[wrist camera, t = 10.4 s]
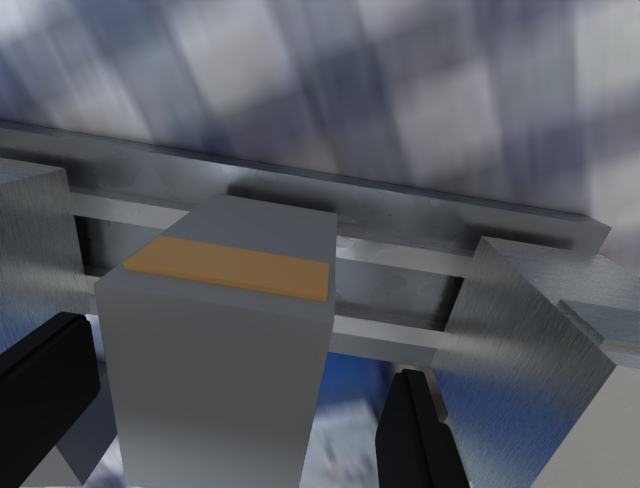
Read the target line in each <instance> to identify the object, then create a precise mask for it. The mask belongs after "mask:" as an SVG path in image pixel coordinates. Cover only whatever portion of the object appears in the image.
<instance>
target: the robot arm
mask: <svg viewBox="0 0 640 488" xmlns="http://www.w3.org/2000/svg"><path fill="white" fill-rule="evenodd" d="M100 387H101V384H100V378H99V372H98V366H97V360H96V354H95V348H94V342H93V336H92V329H91V324H90V322H89V321H87V319H86V317H85V316H84V315H82V314H76V313H70V312H64V311H63V312H59V313H57V314H56V315H54V316H53V317H52V318H50V319H49V320H47V321H46V322H45V323H43V324H42V325H40V326H39V327H38V328H36V329H35V330H33V331H32V332H31V333H29V334H28V335H27V336H25V337H24V338H22V339H21V340H20V341H18V342H17V343H15V344H14V345H13V346H11V347H10V348H8V349H7V350H6V351H4V352H3V353H1V354H0V488H19V487H20V486H21V485H22V484H23V482H24V481H25V480H26V479H27V478H28V477H29V475H30V474H31V473H32V472H33V471H34V470H35V468H36V467H37V466H38V465H39V464H40V463H41V461H42V460H43V459H44V458H45V457H46V455H47V454H48V453H49V452H50V451H51V450H52V448H53V447H54V446H55V445H56V444H57V443H58V441H59V440H60V439H61V438H62V437H63V436H64V434H65V433H66V432H67V431H68V430H69V429H70V427H71V426H72V425H73V424H74V423H75V422H76V420H77V419H78V418H79V417H80V416H81V415H82V413H83V412H84V411H85V410H86V409H87V408H88V406H89V405H90V404H91V403H92V402H93V401H94V399H95V398H96V397H97V395H98V393H99V391H100ZM375 446H376V457H377V468H378V478H379V488H470V485H469V482H468V479H467V476H466V473H465V470H464V467H463V464H462V461H461V458H460V455H459V452H458V449H457V446H456V443H455V440H454V437H453V434H452V432H451V429H450V428H449V426H448V425H447V424H445V423H439V420H438V417H437V414H436V411H435V407H434V404H433V401H432V397H431V394H430V391H429V387H428V384H427V381H426V378H425V375H424V373H423V372H422V371H416V370H410V369H403V370H402V372H401V373H396V374H395V376H394V379H393V382H392V385H391V388H390V391H389V394H388V398H387V401H386V404H385V407H384V410H383V413H382V416H381V419H380V422H379V425H378V428H377V431H376V438H375Z"/></svg>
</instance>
